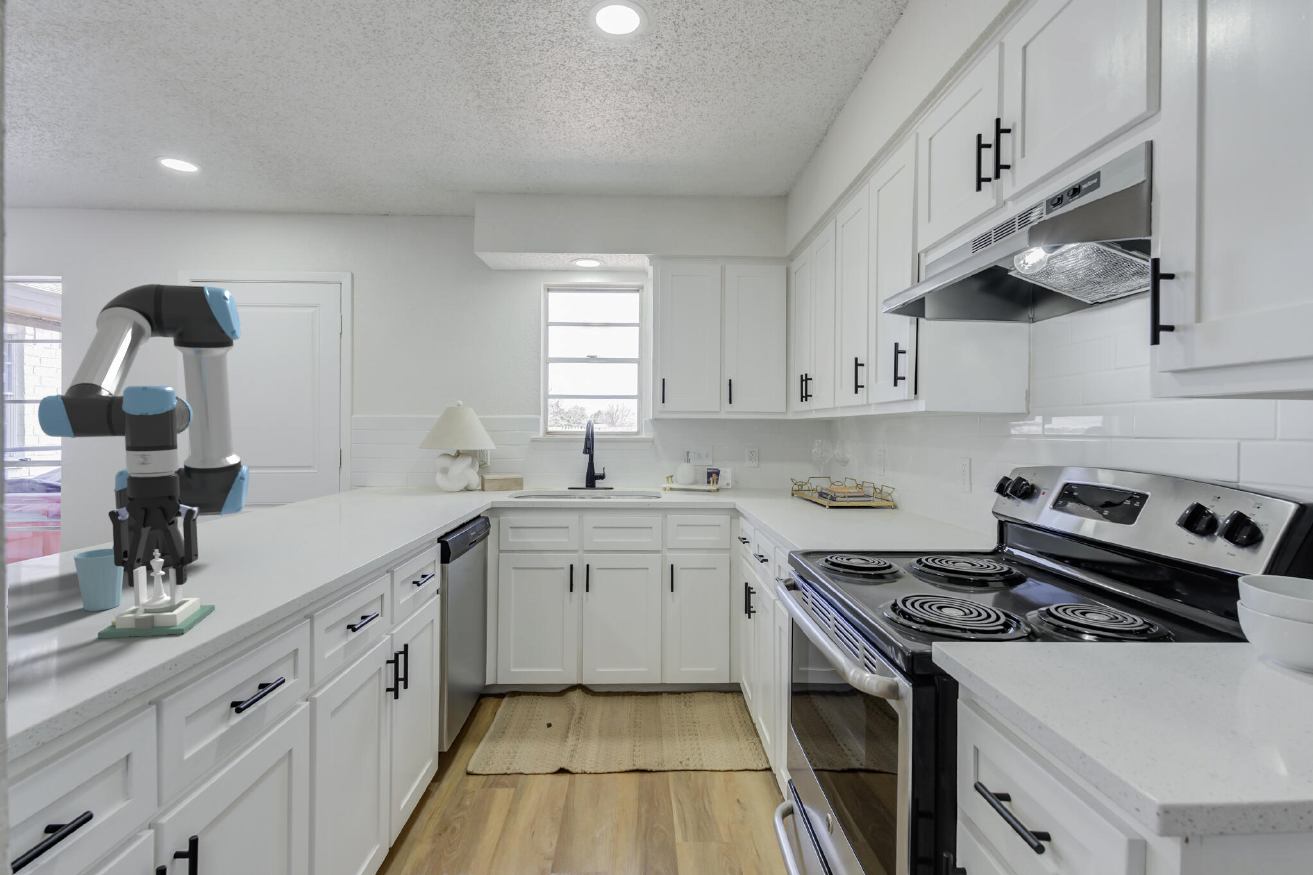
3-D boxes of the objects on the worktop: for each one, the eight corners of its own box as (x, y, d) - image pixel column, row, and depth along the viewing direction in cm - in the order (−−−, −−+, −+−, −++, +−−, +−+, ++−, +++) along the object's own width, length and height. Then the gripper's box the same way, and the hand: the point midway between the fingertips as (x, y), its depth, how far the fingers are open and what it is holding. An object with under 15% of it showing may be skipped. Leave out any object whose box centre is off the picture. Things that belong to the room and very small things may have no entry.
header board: (137, 613, 132) (136, 597, 132) (214, 609, 135) (214, 594, 135) (98, 638, 120) (97, 621, 119) (184, 634, 122) (183, 617, 122)
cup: (121, 610, 134) (118, 555, 133) (70, 615, 131) (67, 559, 130) (132, 598, 141) (129, 546, 140) (84, 603, 138) (81, 550, 137)
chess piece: (149, 610, 124) (147, 554, 123) (136, 605, 126) (134, 550, 125) (180, 603, 128) (178, 548, 127) (167, 598, 130) (165, 545, 130)
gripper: (82, 477, 120) (89, 612, 122) (200, 475, 123) (205, 607, 125) (107, 471, 127) (113, 599, 129) (218, 470, 131) (222, 594, 132)
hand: (158, 602), depth 127 cm, fingers closed on chess piece, 5 cm apart
